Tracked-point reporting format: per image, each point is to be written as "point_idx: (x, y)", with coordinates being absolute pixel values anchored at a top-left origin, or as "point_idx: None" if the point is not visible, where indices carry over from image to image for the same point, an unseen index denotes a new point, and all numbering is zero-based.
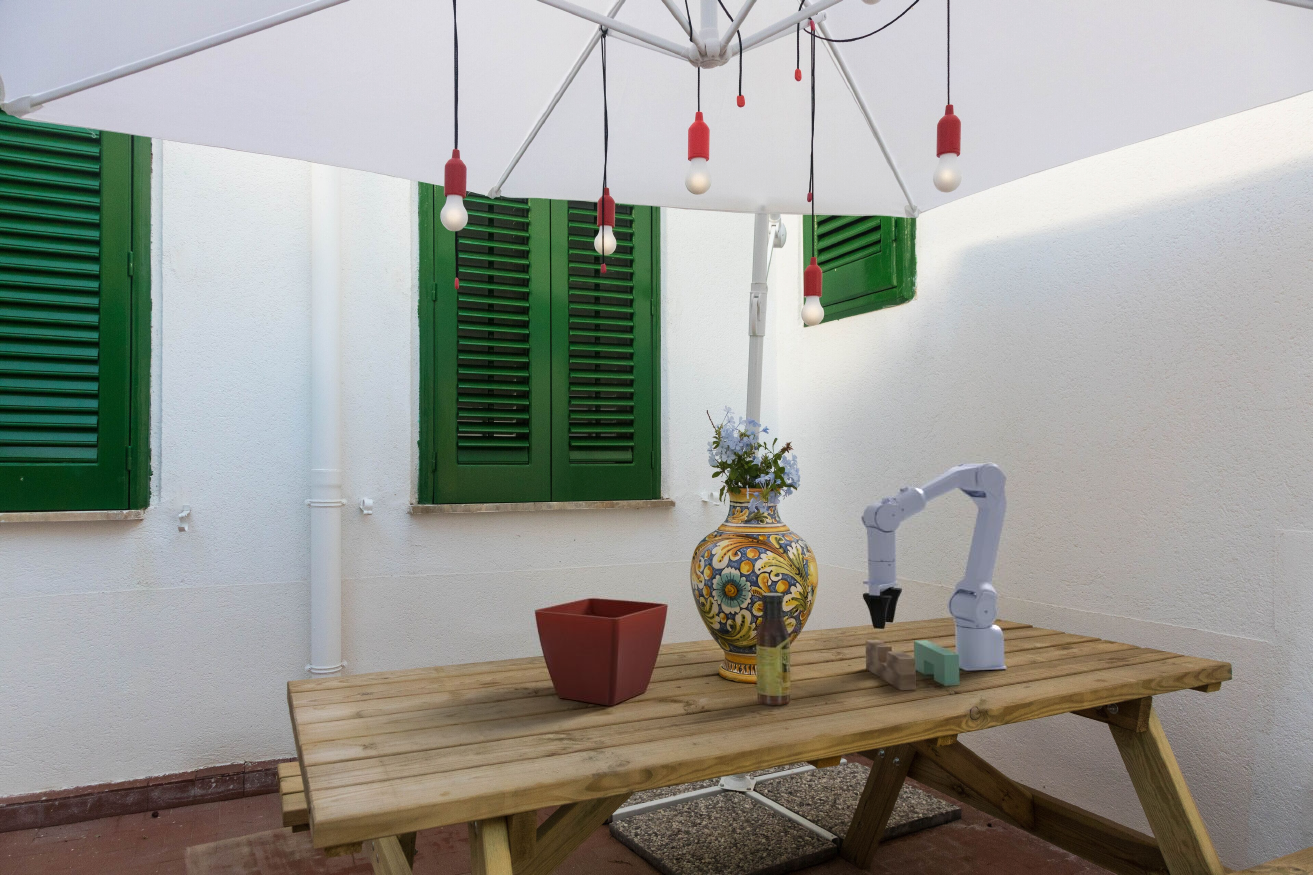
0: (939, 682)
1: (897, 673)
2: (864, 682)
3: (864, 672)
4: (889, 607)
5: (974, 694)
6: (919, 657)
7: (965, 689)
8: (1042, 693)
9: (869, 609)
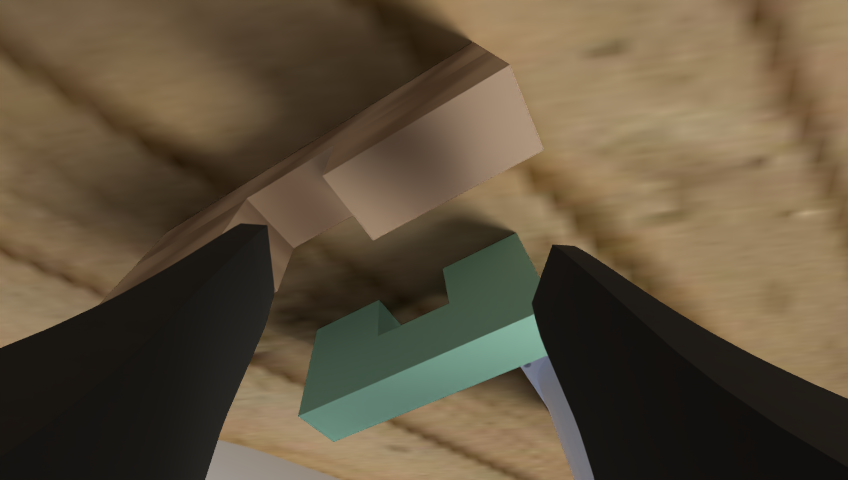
0: (347, 315)
1: (159, 250)
2: (190, 79)
3: (387, 47)
4: (591, 387)
5: (260, 387)
6: (484, 286)
7: (301, 369)
8: (351, 467)
9: (62, 330)
